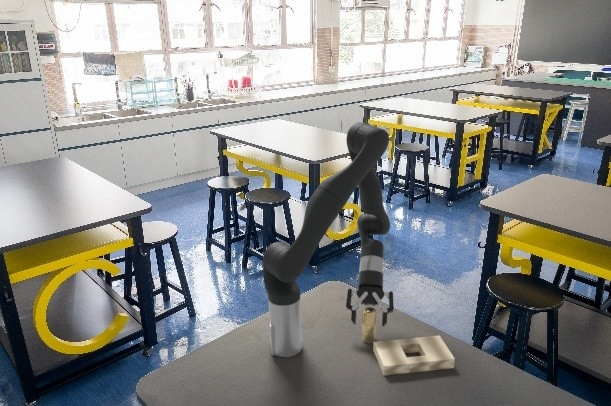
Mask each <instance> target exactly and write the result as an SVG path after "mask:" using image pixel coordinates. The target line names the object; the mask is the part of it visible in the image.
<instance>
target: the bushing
mask: <svg viewBox="0 0 611 406" xmlns="http://www.w3.org/2000/svg"><path fill="white" fill-rule="evenodd" d="M376 319H377V310H376V309H375V308H373V307H369V306H368V307H364V308H363V309H362V319H361V321H362V322H361V341H362V342H364V343H365V344H373V342H376V326H377V324H376V322H377V320H376Z"/></svg>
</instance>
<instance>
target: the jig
mask: <svg viewBox="0 0 611 406" xmlns="http://www.w3.org/2000/svg"><path fill="white" fill-rule="evenodd" d="M372 345H373V346H372V347H373V348H372V350H373V353H374V356H375V358H376V360H377V363H378V365H379V367H380V371H381V372H382V376H390V375H391V376H392V375H400V374H409V373H419V372H429V371H437V370H448V369H455V363H456V362H455V361H456V358H455V357H454V355H453V354H452V352H451V351H450V349H449V348H448V346H447V345H446V343H445V342H444V340H443V338H442V337H441V335H431V336H430V335H429V336H428V335H427V336H421V337H410V338H400V339H399V338H398V339H390V340H379V341H375V342H373V343H372ZM412 353H418V354H419V355H417V356H407V355H406V354H412Z"/></svg>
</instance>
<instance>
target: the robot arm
mask: <svg viewBox="0 0 611 406" xmlns="http://www.w3.org/2000/svg"><path fill="white" fill-rule="evenodd" d="M345 140H346V147H347V150H348V154H349V158H350V160H351V162H350V163H349V164H348V165H347V166H346V167H344V168H342V169H341V170H338V171H337V172H335V173H333V174H331V175H330V176H328V177H326V178H325V179H324V180H322V182H320V183H319V185H318V186H317V187H316V189H315V190H314V191H313V193H312V195H311V196H310V198H309V200H308V202H307V204H306V207H305V211H304V217H303V223H302V226H301V230H300V232H299V234H298V236H297V237H296V239H295V240H294V241H293V243H292V244H291V245H289V244H288V243H285V242H283V241H276V242H273V243H270V245H268V246H267V248H266V249H265V251H264V253H263V257H262V273H263V281H264V282H263V283H264V288H265V291H266V293H267V298H268V299H267V300H268V316H269V317H268V324H269V341H270V343H269V344H270V352H271V353H270V354H271V356H277V357H278V358H279V357H280V358H291V357H295V356H296V355H298V354H300V352H301V351H302V349H303V339H302V336H303V335H302V303H301V288H300V286H299V284H298V282H297V281H296V280H297V279H298V278H300V277H301V275H302V274H303V272H304V271H305V269H306V268H307V265H308V264H309V262H310V260H311V259H312V257H313V255H314V253H315V251H316V249H317V248H318V245H319V244H320V242H321V241H322V240H323V238H324V237H325V235H326V233H327V232H328V230H329V229H330V227H331V225H333V223H334V221H335V220H336V219H337V218H338V216H339V214H340V213H341V212H342V210H343V209H344V207H345V206H346V204H347V203H348V201H349V199H350V198H351V197H352V195H353V193H355V191H356V189H357V188H358V192H359V201H360V208H361V211H362V212H363V213H361V214H359V216H358V217H357V222H356V224H357V228H358V232H359V233H358V234H359V237H360V245H361V246H360V247H361V249H360V261H359V270H358V284H357V285H358V287H357V290H354V289H351V288H348V290H347V296H346V303H345V308H346V310H349V311H351V316H350V321H351V323H352V324H353V325H357V310H358V309H359V308H360V307H361V306H362V305H364V306H372V307H376V306H377V307H378V309H380V310H381V312H382V318H381V319H382V321H381V327H383V328H384V327H385V326H386V325H387V324H388V314H391V313H393V312H394V307H395V306H394V292H393V291H386V292H385V291H384V272H385V271H384V265H385V264H384V243H383V242H382V241H380V240H378V239H374V238H371V237H370V236H384V235H387V234H389V232H390V229H391V222H390V221H391V220H390V219H389V216H388V213H387V212H386V209H385V206H384V200H383V190H382V185H381V182H380V180H379V178H378V176H377V174H376V172H375V171H374V167H375V165H376V164H377V163H378V162H379V160H380V159H381V158H382V157H383V155H384V154H385V152H386V150H387V148H388V146H389V143H390V135H389V133H388V131H386V130H385V129H383V128H381V127H378V126H375V125H372V124H369V123H366V122H361V121H358V122H355V123H353V124H352V125H351V126H350V127H349V129H348V130H347V133H346V139H345ZM355 295H356V296H357V298H358V299H357V301H356V302H355V303H354V304H353V305H352V298H354V297H355ZM384 297H385V298H386V300H388V306H389V307H386V306H385V304H384V302H383V299H384Z"/></svg>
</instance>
